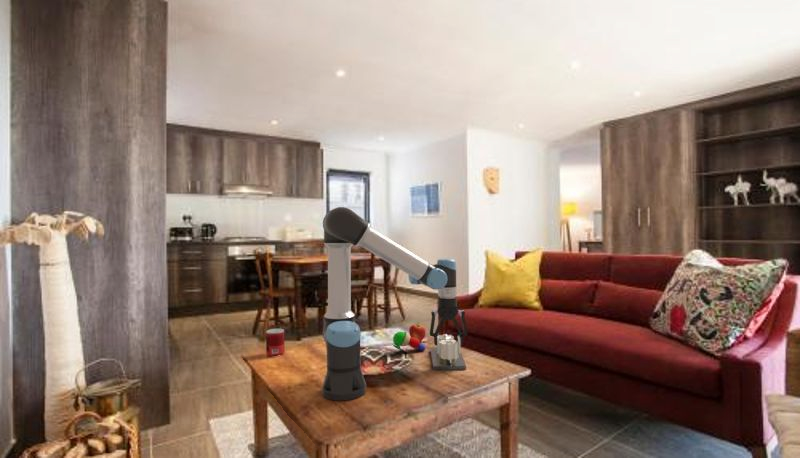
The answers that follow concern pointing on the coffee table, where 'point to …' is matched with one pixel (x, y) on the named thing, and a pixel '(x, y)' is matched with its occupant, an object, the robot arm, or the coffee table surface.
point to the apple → (417, 331)
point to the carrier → (445, 363)
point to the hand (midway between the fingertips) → (448, 352)
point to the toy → (406, 341)
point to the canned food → (275, 342)
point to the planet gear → (448, 349)
